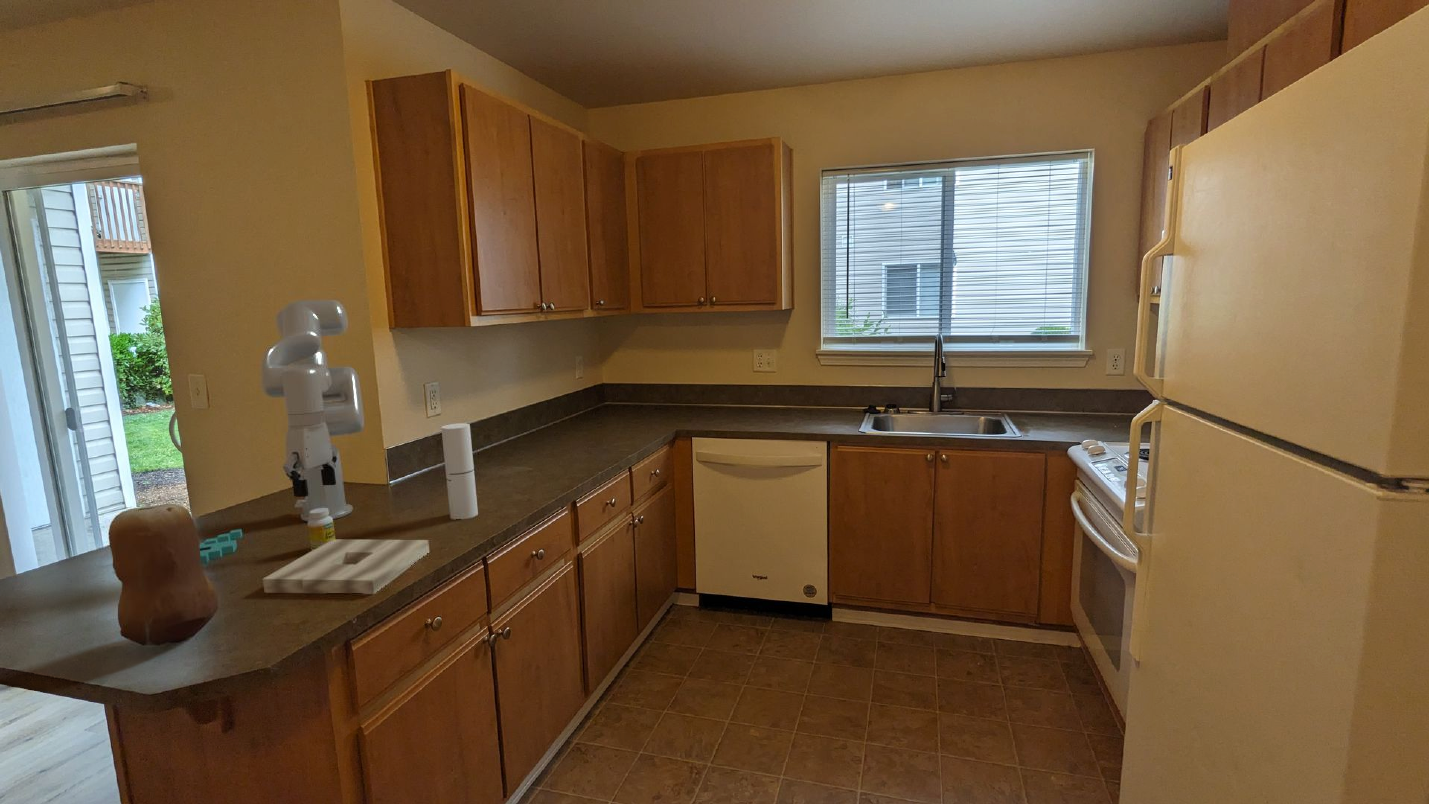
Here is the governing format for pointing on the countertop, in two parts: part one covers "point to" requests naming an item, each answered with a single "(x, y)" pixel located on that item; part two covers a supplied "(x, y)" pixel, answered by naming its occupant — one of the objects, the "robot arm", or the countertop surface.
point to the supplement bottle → (320, 527)
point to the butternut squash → (160, 575)
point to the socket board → (347, 567)
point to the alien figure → (219, 546)
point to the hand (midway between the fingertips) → (315, 490)
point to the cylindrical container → (459, 470)
